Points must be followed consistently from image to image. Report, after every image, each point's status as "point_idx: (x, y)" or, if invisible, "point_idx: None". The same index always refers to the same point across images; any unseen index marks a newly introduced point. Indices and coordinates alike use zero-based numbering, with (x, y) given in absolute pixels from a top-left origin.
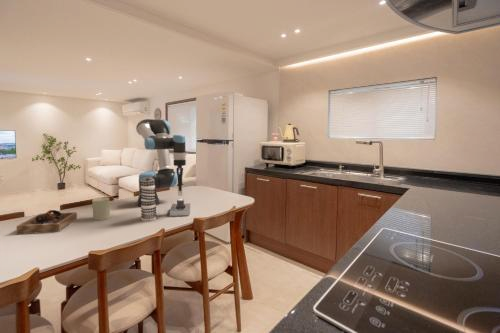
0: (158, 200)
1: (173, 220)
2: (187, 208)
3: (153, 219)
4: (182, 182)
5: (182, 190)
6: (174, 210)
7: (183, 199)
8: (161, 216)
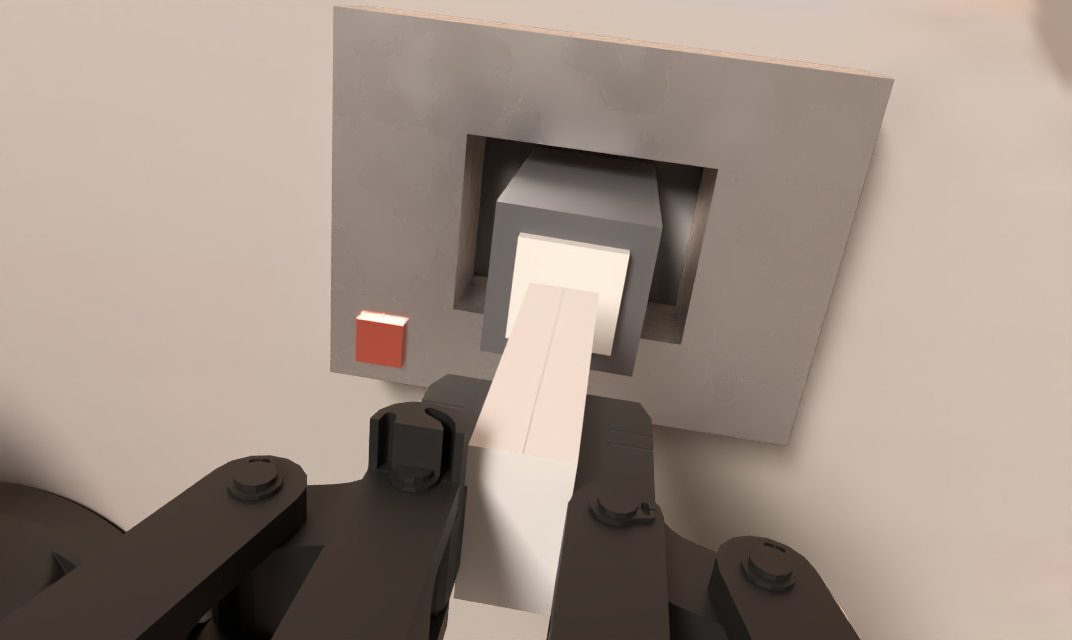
0: (10, 532)
1: (1011, 365)
2: (744, 115)
3: (836, 601)
4: (266, 481)
5: (513, 342)
6: (790, 372)
7: (499, 214)
8: (717, 501)
